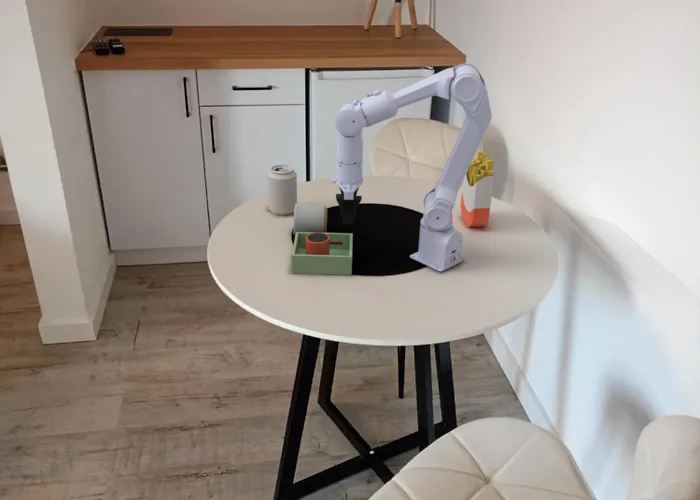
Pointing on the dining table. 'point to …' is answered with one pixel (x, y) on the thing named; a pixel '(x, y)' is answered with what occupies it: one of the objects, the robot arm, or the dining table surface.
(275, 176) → the can
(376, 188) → the dining table surface
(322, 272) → the drawer
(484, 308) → the dining table surface
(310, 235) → the pot
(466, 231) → the dining table surface
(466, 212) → the french fries container
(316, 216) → the ceramic mug
